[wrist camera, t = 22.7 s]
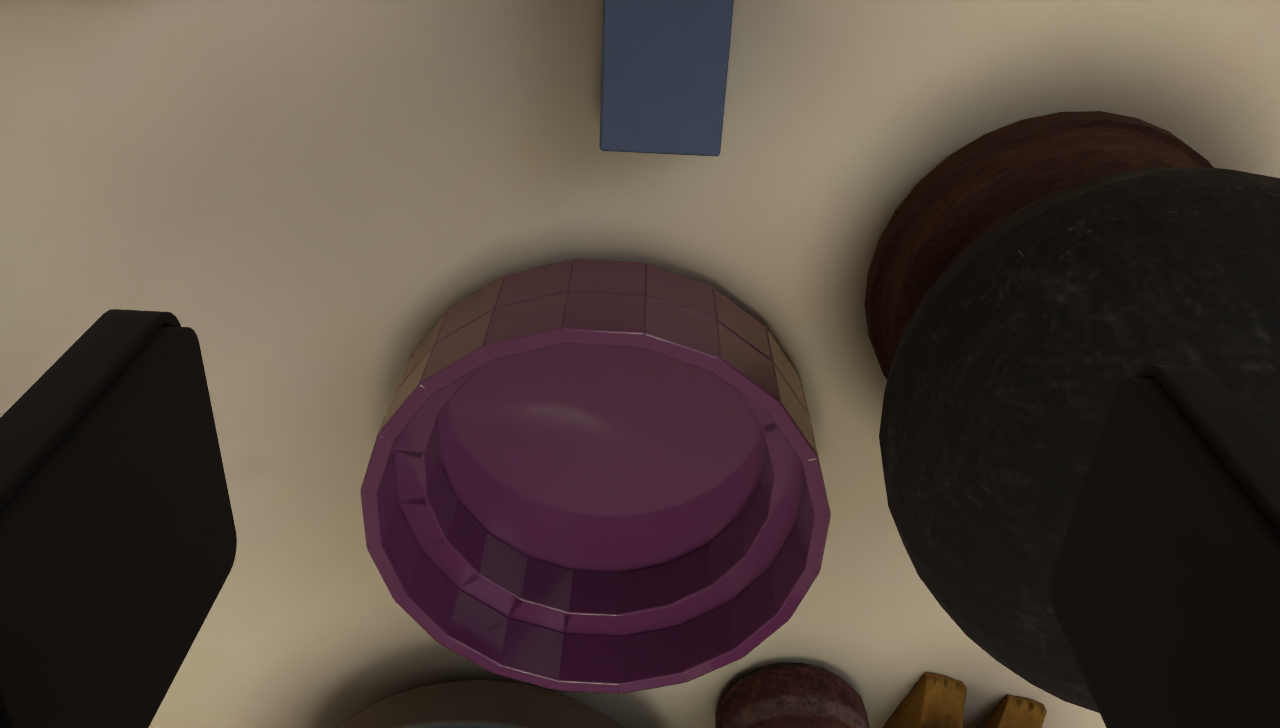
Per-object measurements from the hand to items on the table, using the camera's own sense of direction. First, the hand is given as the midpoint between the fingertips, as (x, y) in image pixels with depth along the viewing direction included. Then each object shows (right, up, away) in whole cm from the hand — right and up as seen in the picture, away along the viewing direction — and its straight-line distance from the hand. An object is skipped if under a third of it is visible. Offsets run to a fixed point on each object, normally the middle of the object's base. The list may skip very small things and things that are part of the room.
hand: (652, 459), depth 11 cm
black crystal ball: (+13, +4, +22) cm, 25 cm away
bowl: (-1, -2, +25) cm, 25 cm away
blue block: (+1, +11, +17) cm, 20 cm away
